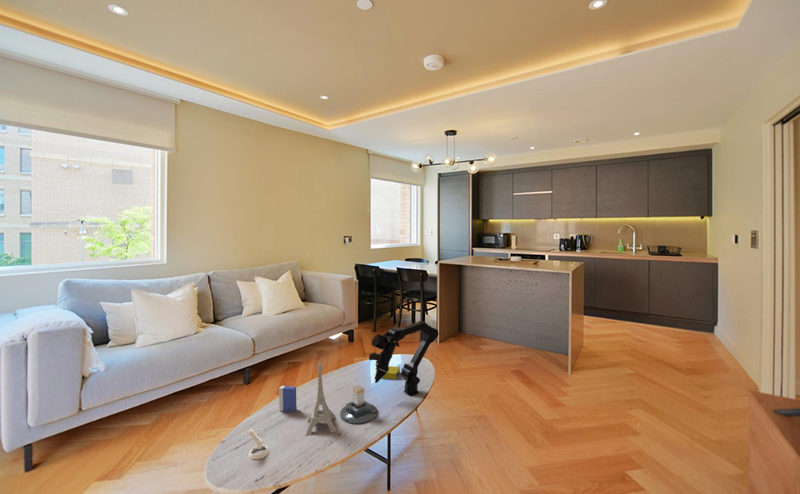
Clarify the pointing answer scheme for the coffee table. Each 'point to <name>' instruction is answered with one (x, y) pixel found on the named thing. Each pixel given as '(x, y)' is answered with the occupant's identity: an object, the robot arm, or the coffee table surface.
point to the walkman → (287, 398)
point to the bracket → (391, 373)
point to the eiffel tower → (320, 413)
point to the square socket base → (358, 413)
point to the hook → (259, 446)
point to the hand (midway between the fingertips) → (375, 381)
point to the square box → (358, 397)
